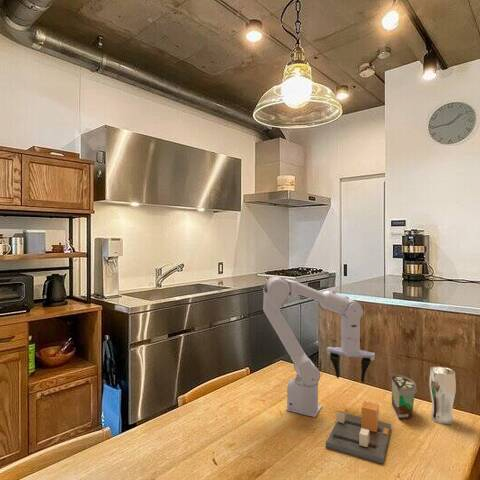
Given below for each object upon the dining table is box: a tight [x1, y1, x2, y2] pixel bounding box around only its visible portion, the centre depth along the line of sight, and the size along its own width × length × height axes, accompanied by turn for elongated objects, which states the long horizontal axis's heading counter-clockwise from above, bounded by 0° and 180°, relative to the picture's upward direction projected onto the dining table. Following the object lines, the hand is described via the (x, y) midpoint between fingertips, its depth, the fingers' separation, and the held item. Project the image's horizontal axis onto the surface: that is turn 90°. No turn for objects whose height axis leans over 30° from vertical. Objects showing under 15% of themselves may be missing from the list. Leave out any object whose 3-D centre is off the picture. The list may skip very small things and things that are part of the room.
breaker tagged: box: [336, 405, 347, 423], centre depth 104 cm, size 2×3×3 cm, turn 151°
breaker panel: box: [325, 413, 392, 465], centre depth 98 cm, size 14×18×2 cm
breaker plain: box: [359, 428, 369, 447], centre depth 92 cm, size 2×3×3 cm, turn 151°
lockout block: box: [360, 401, 380, 432], centre depth 100 cm, size 4×4×6 cm
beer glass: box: [429, 366, 457, 426], centre depth 108 cm, size 7×7×15 cm
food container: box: [390, 373, 418, 421], centre depth 112 cm, size 12×6×10 cm, turn 168°
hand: (350, 378), depth 115 cm, fingers open, 7 cm apart
